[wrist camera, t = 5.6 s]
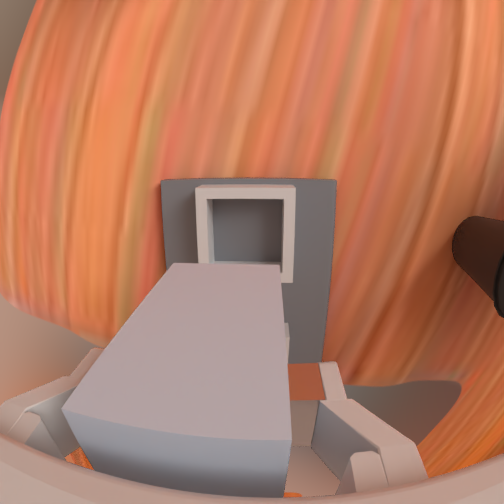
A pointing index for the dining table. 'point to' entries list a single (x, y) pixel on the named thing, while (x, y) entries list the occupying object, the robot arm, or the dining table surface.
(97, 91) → the dining table surface
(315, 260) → the panel
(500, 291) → the coffee cup
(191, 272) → the plug
